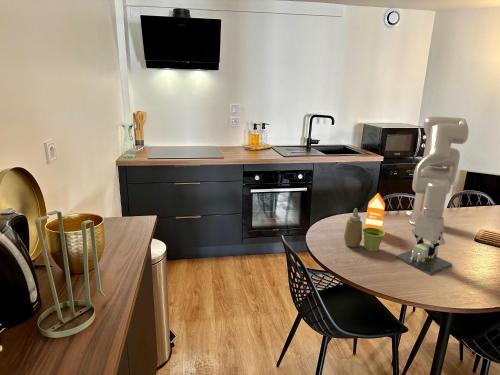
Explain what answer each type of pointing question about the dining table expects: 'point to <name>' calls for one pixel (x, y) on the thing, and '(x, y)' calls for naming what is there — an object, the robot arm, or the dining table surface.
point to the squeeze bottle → (353, 230)
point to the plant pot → (372, 238)
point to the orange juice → (375, 212)
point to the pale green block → (423, 249)
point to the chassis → (424, 262)
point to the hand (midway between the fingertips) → (424, 252)
